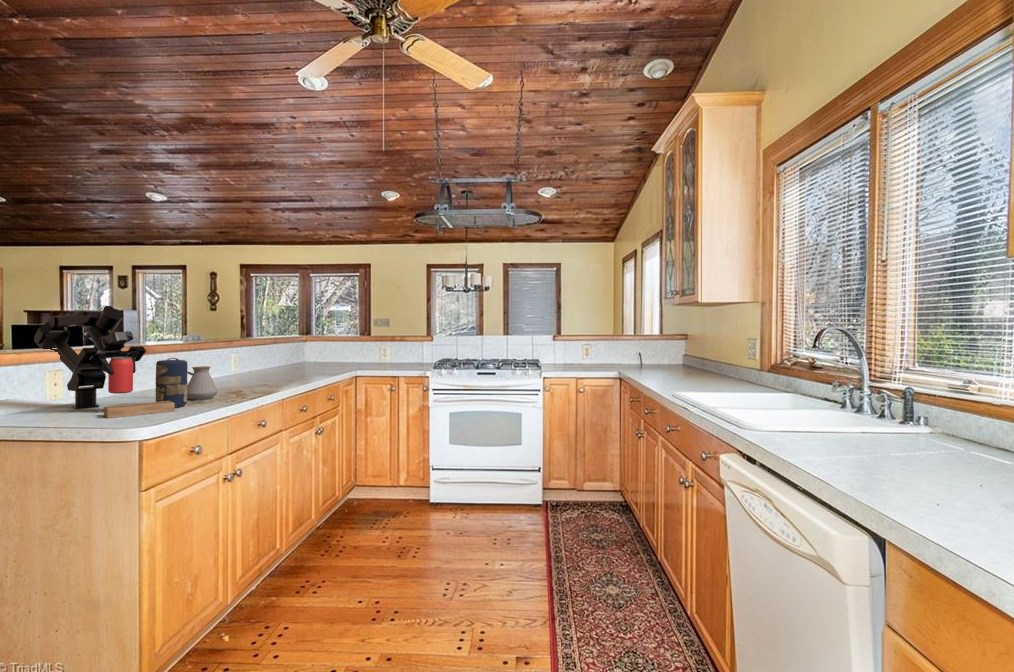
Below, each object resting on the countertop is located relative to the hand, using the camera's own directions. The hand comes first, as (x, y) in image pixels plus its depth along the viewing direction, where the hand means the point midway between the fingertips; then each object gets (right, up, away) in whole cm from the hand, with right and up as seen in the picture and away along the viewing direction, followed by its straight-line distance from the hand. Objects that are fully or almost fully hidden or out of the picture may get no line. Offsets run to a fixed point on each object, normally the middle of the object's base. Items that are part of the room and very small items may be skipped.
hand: (123, 373), depth 164 cm
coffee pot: (+2, -13, +30) cm, 33 cm away
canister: (+9, -13, +11) cm, 19 cm away
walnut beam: (+7, -13, -2) cm, 15 cm away
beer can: (-1, -7, +1) cm, 7 cm away
